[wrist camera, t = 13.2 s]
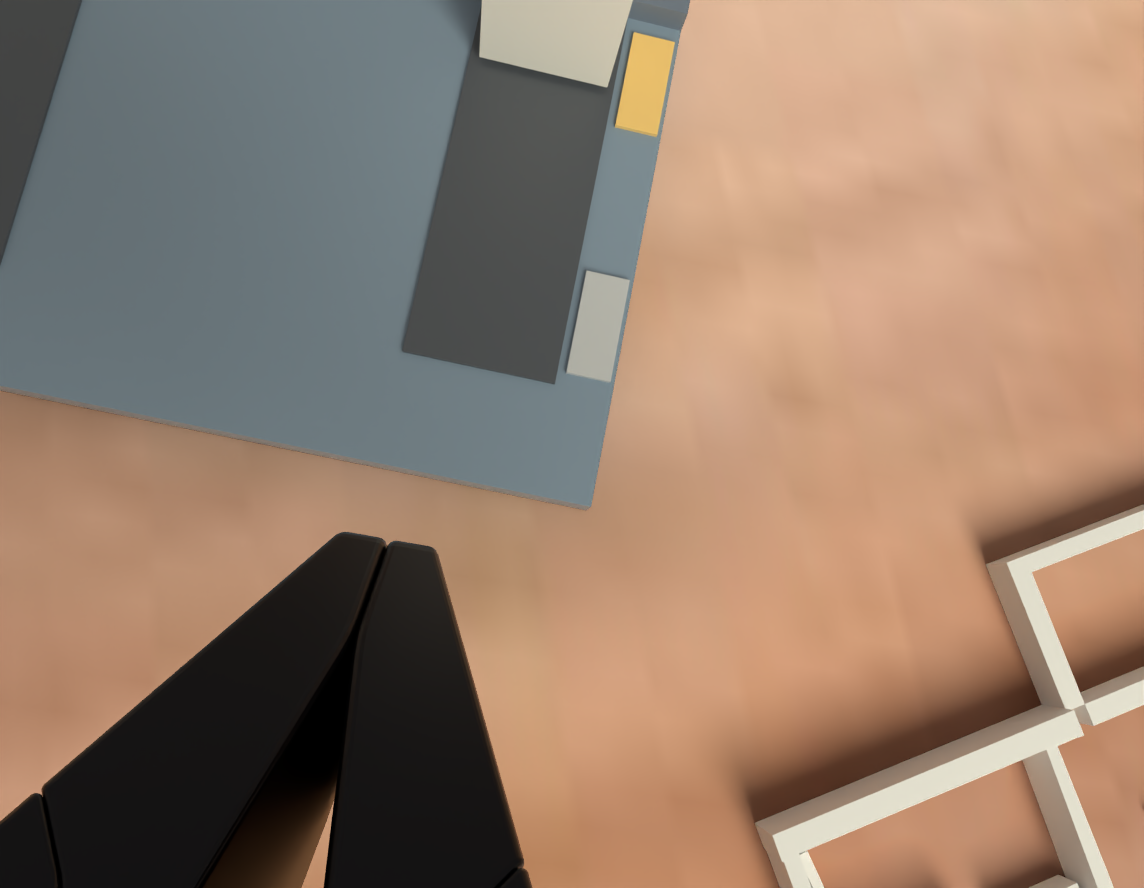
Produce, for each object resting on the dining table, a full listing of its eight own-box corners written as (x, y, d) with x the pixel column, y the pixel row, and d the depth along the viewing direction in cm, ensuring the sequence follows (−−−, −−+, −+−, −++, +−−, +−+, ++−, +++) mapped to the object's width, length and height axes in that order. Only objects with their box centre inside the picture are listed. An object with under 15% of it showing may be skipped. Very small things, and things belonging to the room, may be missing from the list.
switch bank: (586, 510, 23) (595, 503, 21) (-245, 340, 21) (-297, 320, 20) (676, 34, 25) (690, -2, 24) (-74, -150, 24) (-108, -200, 22)
